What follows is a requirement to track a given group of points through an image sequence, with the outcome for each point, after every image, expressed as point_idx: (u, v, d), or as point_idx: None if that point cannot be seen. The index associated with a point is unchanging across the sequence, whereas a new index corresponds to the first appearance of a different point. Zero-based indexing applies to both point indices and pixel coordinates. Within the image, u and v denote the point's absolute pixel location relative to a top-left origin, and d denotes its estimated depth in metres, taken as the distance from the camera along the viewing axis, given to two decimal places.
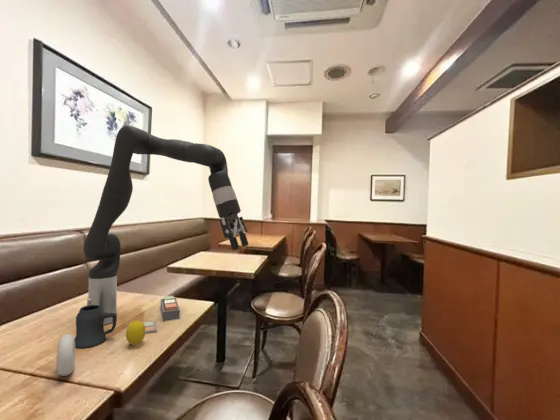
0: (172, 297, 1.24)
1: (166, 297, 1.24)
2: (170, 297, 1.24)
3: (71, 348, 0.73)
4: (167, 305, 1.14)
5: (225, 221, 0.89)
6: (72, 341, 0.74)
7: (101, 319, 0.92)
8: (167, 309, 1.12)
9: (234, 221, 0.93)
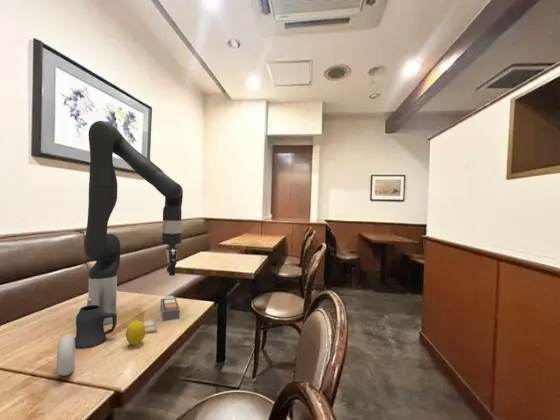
0: (172, 297, 1.24)
1: (166, 297, 1.24)
2: (170, 297, 1.24)
3: (71, 348, 0.73)
4: (167, 305, 1.14)
5: (175, 252, 1.08)
6: (72, 341, 0.74)
7: (101, 319, 0.92)
8: (167, 309, 1.12)
9: None
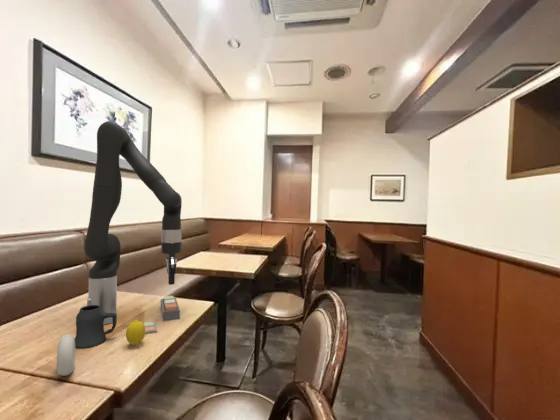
0: (172, 297, 1.24)
1: (166, 297, 1.24)
2: (170, 297, 1.24)
3: (71, 348, 0.73)
4: (167, 305, 1.14)
5: (174, 266, 1.09)
6: (72, 341, 0.74)
7: (101, 319, 0.92)
8: (167, 309, 1.12)
9: (175, 261, 1.13)
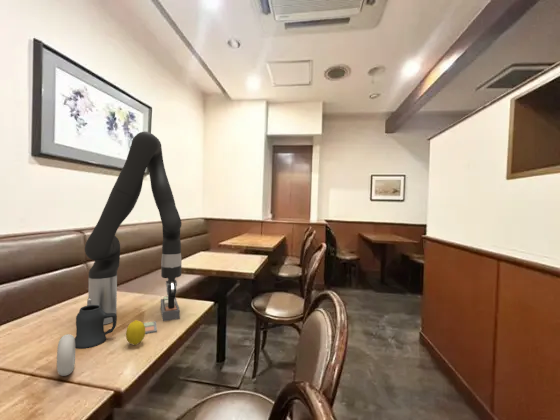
0: None
1: (166, 297, 1.24)
2: None
3: (71, 348, 0.73)
4: (167, 307, 1.14)
5: (174, 291, 1.09)
6: (72, 341, 0.74)
7: (101, 319, 0.92)
8: None
9: (175, 285, 1.13)
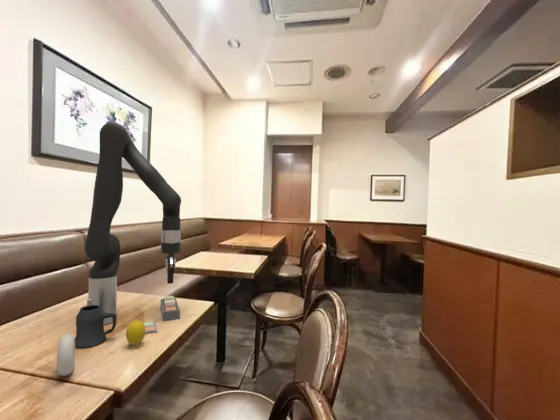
0: (172, 297, 1.24)
1: (166, 297, 1.24)
2: (170, 297, 1.24)
3: (71, 348, 0.73)
4: (167, 308, 1.14)
5: (173, 266, 1.12)
6: (72, 341, 0.74)
7: (101, 319, 0.92)
8: None
9: (174, 260, 1.16)
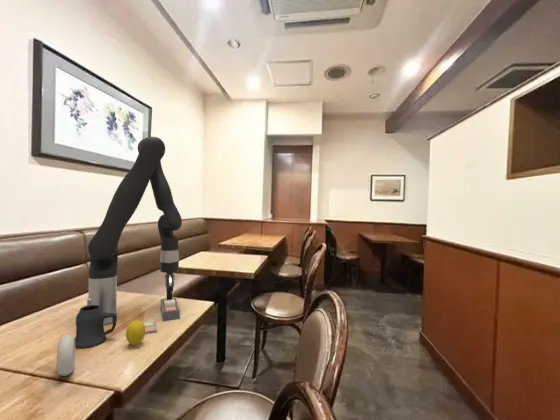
0: None
1: (166, 299, 1.24)
2: None
3: (71, 348, 0.73)
4: (167, 308, 1.14)
5: (172, 284, 1.19)
6: (72, 341, 0.74)
7: (101, 319, 0.92)
8: None
9: (173, 278, 1.23)
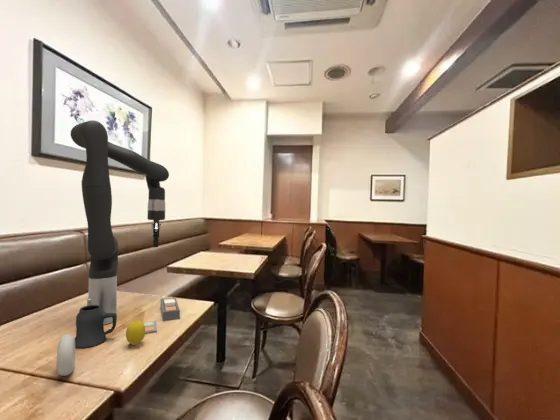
0: None
1: None
2: None
3: (71, 348, 0.73)
4: (167, 308, 1.14)
5: (157, 230, 1.27)
6: (72, 341, 0.74)
7: (101, 319, 0.92)
8: None
9: (159, 226, 1.31)
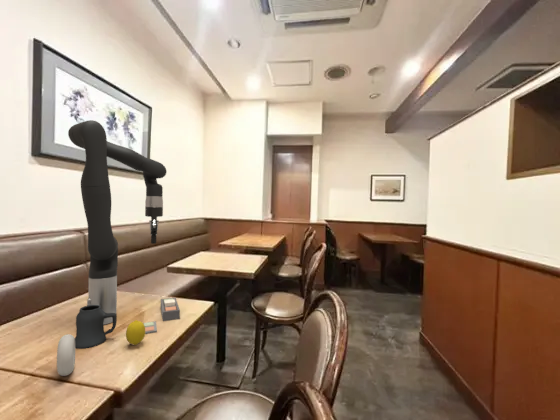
0: None
1: None
2: None
3: (71, 348, 0.73)
4: (167, 308, 1.14)
5: (155, 227, 1.28)
6: (72, 341, 0.74)
7: (101, 319, 0.92)
8: None
9: (157, 223, 1.32)
